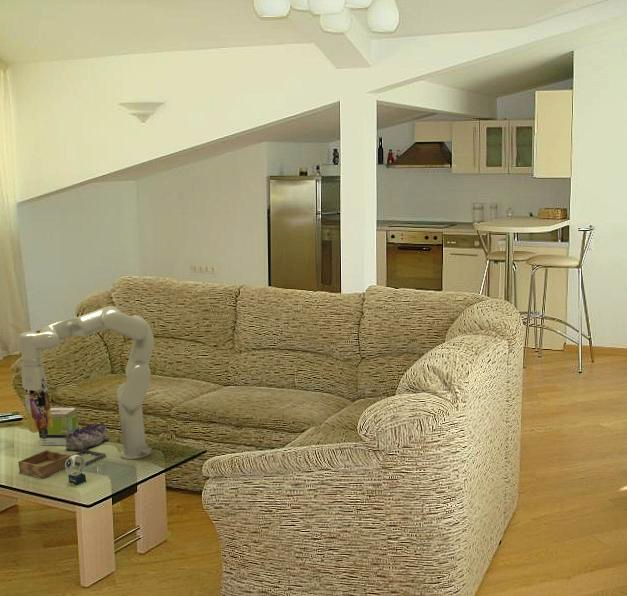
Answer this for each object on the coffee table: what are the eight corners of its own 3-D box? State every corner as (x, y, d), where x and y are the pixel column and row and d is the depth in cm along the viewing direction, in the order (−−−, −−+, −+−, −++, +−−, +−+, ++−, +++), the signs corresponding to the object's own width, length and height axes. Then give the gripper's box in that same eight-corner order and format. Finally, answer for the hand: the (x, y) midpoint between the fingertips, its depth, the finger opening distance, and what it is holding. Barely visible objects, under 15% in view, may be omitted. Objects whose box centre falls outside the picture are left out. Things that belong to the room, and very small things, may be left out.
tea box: (80, 438, 426) (77, 406, 423) (70, 446, 416) (67, 414, 413) (50, 437, 429) (46, 406, 426) (39, 445, 419) (35, 413, 416)
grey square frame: (105, 457, 399) (105, 453, 399) (83, 467, 389) (83, 463, 388) (85, 452, 406) (84, 449, 406) (62, 462, 396) (62, 459, 395)
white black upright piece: (64, 483, 372) (61, 457, 370) (82, 477, 378) (79, 451, 376) (72, 487, 368) (69, 460, 366) (90, 480, 374) (87, 454, 372)
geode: (96, 436, 427) (97, 415, 425) (113, 443, 421) (114, 422, 418) (60, 448, 412) (60, 427, 409) (77, 456, 405) (77, 434, 402)
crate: (71, 466, 391) (69, 454, 390) (44, 478, 379) (42, 467, 378) (47, 461, 399) (45, 449, 398) (19, 473, 387) (18, 461, 386)
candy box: (47, 424, 390) (43, 389, 387) (53, 426, 387) (49, 391, 384) (28, 431, 384) (24, 395, 381) (34, 433, 381) (29, 397, 378)
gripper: (11, 362, 381) (16, 405, 385) (39, 366, 372) (44, 410, 376) (25, 358, 388) (31, 400, 391) (53, 361, 378) (59, 405, 382)
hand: (37, 404), depth 383 cm, fingers closed on candy box, 4 cm apart
